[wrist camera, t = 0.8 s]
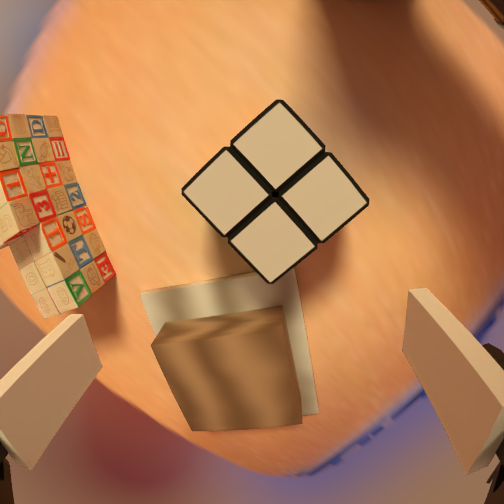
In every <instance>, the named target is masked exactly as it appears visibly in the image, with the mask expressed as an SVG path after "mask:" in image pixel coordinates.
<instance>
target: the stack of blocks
mask: <svg viewBox="0 0 504 504" xmlns="http://www.w3.org/2000/svg"><path fill="white" fill-rule="evenodd" d="M6 246H10V249H11V251H12V254H13V256H14V258H15V261H16V263H17V265H18V267H19V270H20V273H21V275H22V277H23V279H24V281H25V284H26V286H27V288H28V290H29V292H30V294H31V295H32V297H33V299H34V301H35V303H36V305H37V307H38V309H39V311H40V312H41V314H42V316H43V318H44V319H46V318H49V317H52V316H55V315H58V314H60V313H63V312H66V311H69V310H72V309H75V308H78V307H79V306H80V305H82V304H83V303H84V302H85V301H86V300H87V299H88V298H89V297H91V296H92V294H93V293H94V292H96V291H97V290H98V289H99V288H101V287H102V286H103V285H104V284H105V283H106V282H107V281H108V280H110V279H111V278H112V277H113V276H114V275H115V274H116V273H115V271H114V269H113V267H112V265H111V263H110V261H109V258H108V256H107V254H106V252H105V248H104V246H103V243H102V241H101V239H100V236H99V234H98V232H97V230H96V227H95V224H94V222H93V219H92V217H91V214H90V212H89V209H88V207H87V206H86V203H85V200H84V198H83V195H82V192H81V189H80V187H79V184H78V182H77V179H76V176H75V173H74V170H73V167H72V164H71V162H70V157H69V154H68V151H67V148H66V144H65V141H64V138H63V134H62V131H61V127H60V124H59V120H58V117H57V116H38V115H24V114H7V115H0V249H2V248H4V247H6Z"/></svg>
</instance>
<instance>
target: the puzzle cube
mask: <svg viewBox="0 0 504 504" xmlns="http://www.w3.org/2000/svg"><path fill="white" fill-rule="evenodd" d="M182 195H183V196H184V197H185V198H186V199H187V201H188V202H189V203H190V204H191V205H192V206H193V207H194V208H195V209H196V210H197V211H198V212H199V213H200V214H201V215H202V216H203V217H204V218H205V219H206V221H207V222H208V223H209V224H210V225H211V226H212V227H213V228H214V229H215V230H216V231H217V232H218V233H219V234H220V235H221V236H222V237H228V243H229V244H230V245H231V247H232V248H233V249H234V250H235V251H236V252H237V253H238V254H239V255H240V256H241V257H242V258H243V259H244V260H245V261H246V262H247V263H248V264H249V265H250V266H251V267H252V268H253V269H254V270H255V272H256V273H257V274H258V275H259V276H260V277H261V278H262V279H263V280H264V281H265V282H266V283H267V284H274V283H275V282H276V281H278V280H279V279H280V278H281V277H283V276H284V275H285V274H286V273H288V272H289V271H290V270H291V269H292V268H294V267H295V266H296V265H297V264H299V263H300V262H301V261H302V260H303V259H305V258H306V257H307V256H308V255H310V254H311V253H312V252H313V251H314V250H316V249H317V244H318V243H325V242H326V241H327V240H328V239H329V238H331V237H332V236H333V235H334V234H335V233H337V232H338V231H339V230H340V229H341V228H343V227H344V226H345V225H346V224H347V223H348V222H350V221H351V220H352V219H353V218H354V217H356V216H357V215H358V214H359V213H360V212H361V211H363V210H364V209H365V208H366V207H367V206H368V205H369V198H368V197H367V196H366V194H365V193H364V192H363V191H362V189H361V188H360V187H359V186H358V184H357V183H356V182H355V181H354V179H353V178H352V177H351V176H350V174H349V173H348V172H347V171H346V170H345V168H344V167H343V166H342V165H341V164H340V162H339V161H338V160H337V159H336V158H335V156H334V155H333V154H332V153H330V152H325V145H324V144H323V143H322V141H321V140H320V139H319V138H318V137H317V136H316V135H315V134H314V133H313V131H312V130H311V129H310V128H309V127H308V126H307V125H306V124H305V123H304V122H303V120H302V119H301V118H300V117H299V116H298V115H297V114H296V113H295V112H294V111H293V110H292V109H291V108H290V107H289V106H288V105H287V104H286V103H285V102H284V101H283V100H275V101H274V102H273V103H272V104H271V105H270V106H268V107H267V108H266V109H265V110H264V111H263V112H262V113H260V114H259V115H258V116H257V117H256V118H255V119H254V120H253V121H252V122H250V123H249V124H248V125H247V126H246V127H245V128H244V129H243V130H242V131H241V132H239V133H238V134H237V135H236V136H235V137H234V138H233V139H232V140H231V143H230V147H223V148H222V149H221V150H220V151H219V152H218V153H217V154H216V155H215V156H214V157H213V158H212V159H211V160H210V161H208V162H207V163H206V164H205V165H204V166H203V167H202V168H201V169H200V170H199V171H198V172H197V173H196V174H195V175H194V176H193V177H192V178H191V179H190V180H189V181H188V182H187V183H186V184H185V185H184V186H183V187H182Z"/></svg>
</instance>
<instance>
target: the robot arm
mask: <svg viewBox="0 0 504 504" xmlns="http://www.w3.org/2000/svg"><path fill="white" fill-rule="evenodd" d="M479 1H480V2H481V3H482V4H483V5H484V6H485V7H486V9H487V10H488V11H489V12H490V13H491V14H492V15H493V17H494V20H495V22H496V23H497V24H498V25H499V26H500V27H501V28H502V29H504V0H479ZM402 351H403V353H404V355H405V356H406V358H407V360H408V362H409V363H410V365H411V367H412V369H413V371H414V372H415V374H416V376H417V378H418V380H419V381H420V383H421V385H422V387H423V389H424V391H425V392H426V394H427V396H428V398H429V400H430V402H431V404H432V406H433V408H434V409H435V411H436V413H437V415H438V417H439V419H440V421H441V423H442V425H443V427H444V429H445V431H446V433H447V435H448V437H449V439H450V441H451V443H452V445H453V447H454V449H455V451H456V453H457V456H458V458H459V460H460V462H461V464H462V466H463V469H464V471H465V473H466V475H467V474H470V473H472V472H475V471H477V470H480V469H482V468H484V467H487V466H488V465H489V463H490V462H491V460H492V459H493V457H494V455H495V454H497V456H498V458H499V460H500V462H499V464H498V465H497V467H496V468H495V470H494V471H493V473H492V474H491V476H490V477H489V479H488V481H487V483H490V482H491V480H492V479H493V480H492V483H491V486H490V490H489V492H488V495H487V498H486V501H485V503H484V504H504V353H503V352H502V351H501V350H500V349H498V348H496V347H494V346H493V345H491V344H489V343H488V344H484V345H481V344H480V343H479V342H478V341H477V340H476V339H475V337H474V336H473V335H472V334H471V333H470V332H469V331H468V330H467V329H466V328H465V327H464V326H463V325H462V324H461V322H460V321H459V320H458V319H457V318H456V317H455V316H454V315H453V314H452V313H451V312H450V311H449V310H448V309H447V308H446V307H445V306H444V305H443V304H442V303H441V302H440V301H439V300H438V299H437V298H436V297H435V296H434V295H433V294H432V293H431V292H430V291H429V290H428V289H427V288H426V287H425V288H418V289H411V290H408V302H407V313H406V323H405V332H404V340H403V348H402ZM101 368H102V364H101V362H100V359H99V357H98V354H97V351H96V349H95V346H94V343H93V341H92V338H91V335H90V332H89V329H88V327H87V324H86V321H85V318H84V315H83V314H70V315H69V316H68V317H66V318H65V319H64V320H63V321H62V322H61V323H60V324H59V325H58V326H57V327H55V328H54V329H53V330H52V331H51V332H50V333H49V334H48V335H47V336H46V337H45V338H43V339H42V340H41V341H40V342H39V343H38V344H37V345H36V346H35V347H34V348H33V349H32V350H31V351H30V352H29V353H28V354H26V356H24V357H23V359H21V360H20V361H19V362H18V363H17V364H16V365H15V366H14V367H13V368H12V369H11V370H10V371H9V372H8V373H7V374H6V375H5V376H4V377H3V378H2V379H1V380H0V504H14V498H13V491H12V483H11V474H10V465H9V462H8V461H7V459H6V458H5V457H6V456H7V454H8V453H9V454H10V456H11V457H12V458H13V459H14V461H15V462H16V463H17V464H18V465H20V466H22V467H25V468H27V469H29V470H32V469H33V467H34V465H35V464H36V462H37V461H38V459H39V458H40V456H41V455H42V453H43V451H44V450H45V449H46V447H47V446H48V444H49V443H50V441H51V440H52V438H53V437H54V435H55V434H56V432H57V431H58V429H59V427H60V426H61V425H62V423H63V422H64V421H65V419H66V418H67V416H68V415H69V413H70V412H71V410H72V409H73V408H74V406H75V405H76V403H77V402H78V400H79V399H80V398H81V396H82V395H83V393H84V392H85V390H86V389H87V388H88V386H89V385H90V383H91V382H92V381H93V379H94V378H95V377H96V375H97V374H98V372H99V371H100V370H101Z"/></svg>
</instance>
